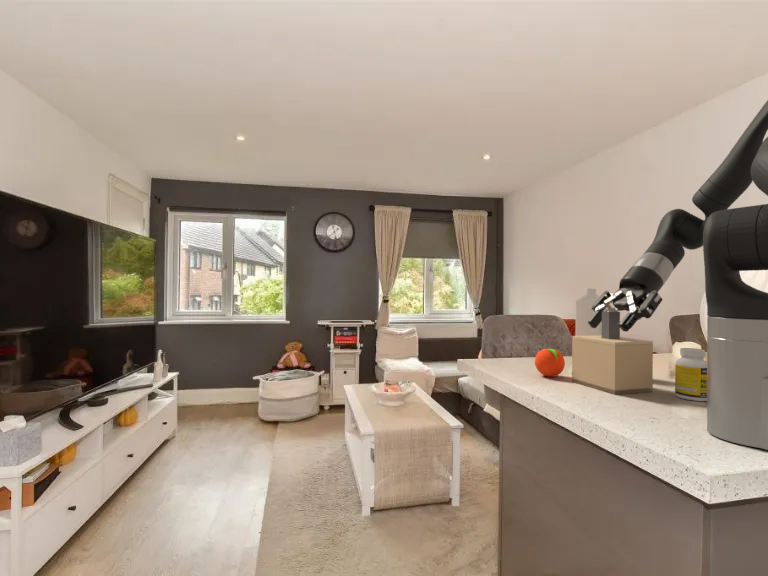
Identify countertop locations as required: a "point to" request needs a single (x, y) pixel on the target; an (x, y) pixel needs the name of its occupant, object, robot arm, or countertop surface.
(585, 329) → the milk
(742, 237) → the robot arm
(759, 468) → the countertop surface
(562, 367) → the clementine
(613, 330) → the lid
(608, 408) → the countertop surface
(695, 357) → the supplement bottle
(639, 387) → the carton
